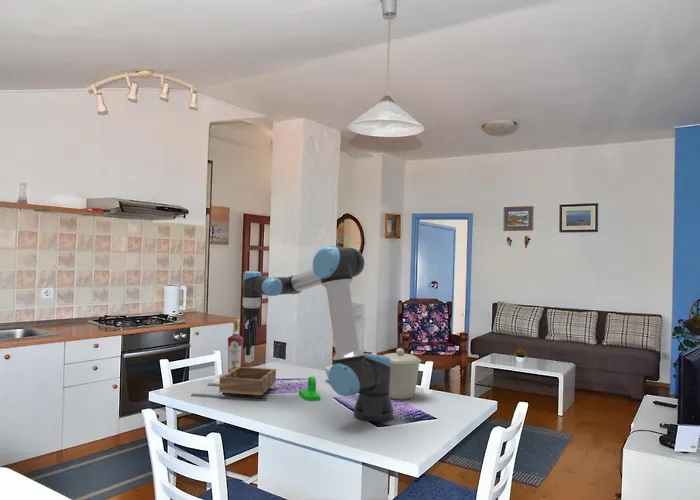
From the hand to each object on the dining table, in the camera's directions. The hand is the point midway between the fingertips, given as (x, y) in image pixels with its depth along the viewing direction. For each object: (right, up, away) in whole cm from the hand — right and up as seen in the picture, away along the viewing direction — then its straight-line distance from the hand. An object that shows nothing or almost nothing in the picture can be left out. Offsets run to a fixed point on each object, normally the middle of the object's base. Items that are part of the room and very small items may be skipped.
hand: (249, 361), depth 225 cm
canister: (+65, -16, +1) cm, 67 cm away
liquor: (-13, -14, +27) cm, 33 cm away
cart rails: (-6, -13, 0) cm, 15 cm away
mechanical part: (+26, -15, -4) cm, 30 cm away
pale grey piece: (+40, -16, +24) cm, 49 cm away
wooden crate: (0, -14, 0) cm, 14 cm away
